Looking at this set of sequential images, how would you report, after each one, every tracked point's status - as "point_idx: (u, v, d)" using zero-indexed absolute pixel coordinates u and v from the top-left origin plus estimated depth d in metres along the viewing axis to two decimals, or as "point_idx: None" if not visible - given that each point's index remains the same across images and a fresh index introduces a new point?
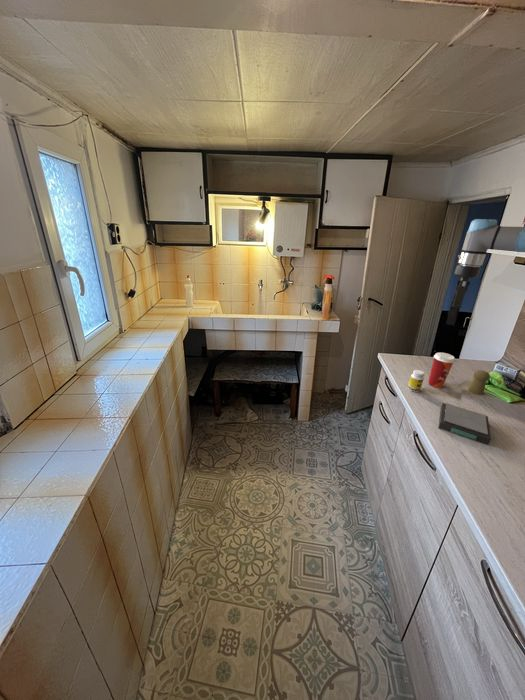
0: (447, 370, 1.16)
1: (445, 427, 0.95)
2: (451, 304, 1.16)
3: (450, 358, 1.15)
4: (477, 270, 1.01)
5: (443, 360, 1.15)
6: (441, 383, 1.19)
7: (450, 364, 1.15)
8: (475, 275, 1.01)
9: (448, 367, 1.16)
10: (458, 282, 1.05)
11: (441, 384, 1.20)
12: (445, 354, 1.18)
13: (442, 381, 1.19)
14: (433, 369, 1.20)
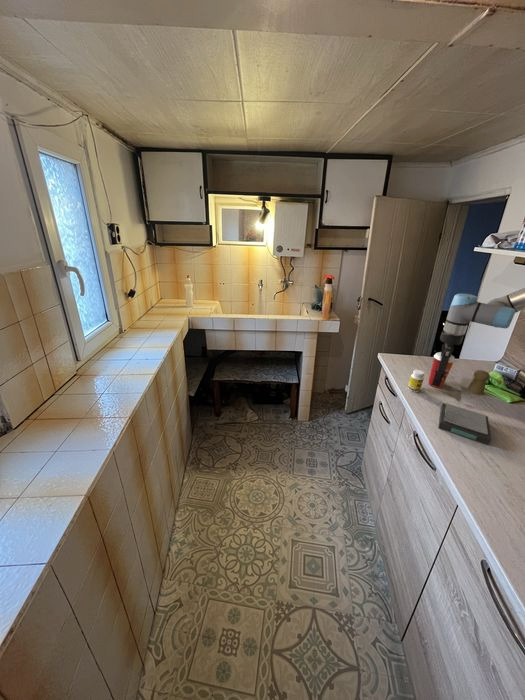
0: (447, 370, 1.16)
1: (445, 427, 0.95)
2: None
3: (450, 358, 1.15)
4: (460, 339, 1.10)
5: None
6: (441, 383, 1.19)
7: (450, 364, 1.15)
8: (458, 343, 1.11)
9: (448, 367, 1.16)
10: (443, 347, 1.15)
11: (441, 384, 1.20)
12: None
13: (442, 381, 1.19)
14: (433, 368, 1.20)
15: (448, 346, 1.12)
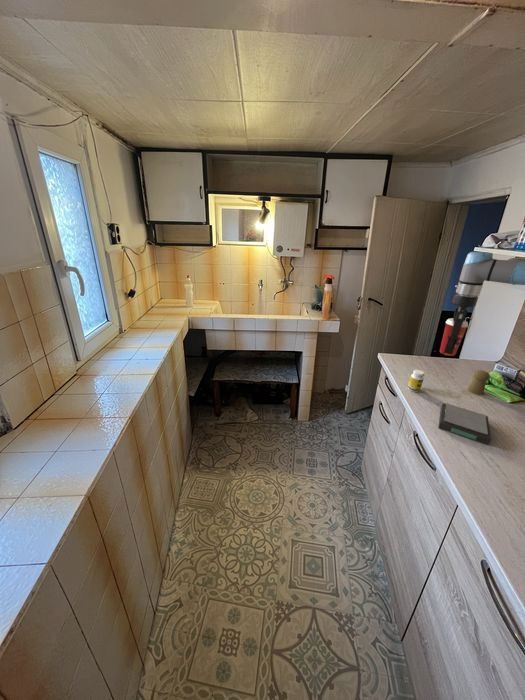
0: (460, 336, 1.10)
1: (445, 427, 0.95)
2: None
3: (463, 322, 1.08)
4: (474, 300, 1.04)
5: None
6: (454, 350, 1.13)
7: (463, 329, 1.09)
8: (472, 305, 1.04)
9: (461, 332, 1.09)
10: (456, 311, 1.08)
11: (454, 352, 1.13)
12: None
13: (455, 348, 1.12)
14: (445, 335, 1.13)
15: (461, 309, 1.06)
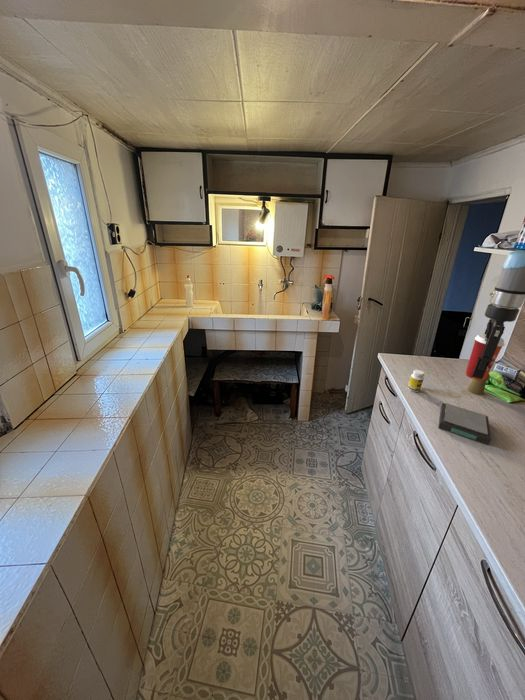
0: (494, 356, 0.88)
1: (445, 427, 0.95)
2: None
3: None
4: (515, 313, 0.81)
5: None
6: (484, 374, 0.91)
7: (498, 348, 0.86)
8: (512, 319, 0.82)
9: (495, 352, 0.87)
10: (490, 326, 0.86)
11: (484, 375, 0.91)
12: None
13: (486, 371, 0.90)
14: (474, 355, 0.91)
15: (498, 324, 0.83)
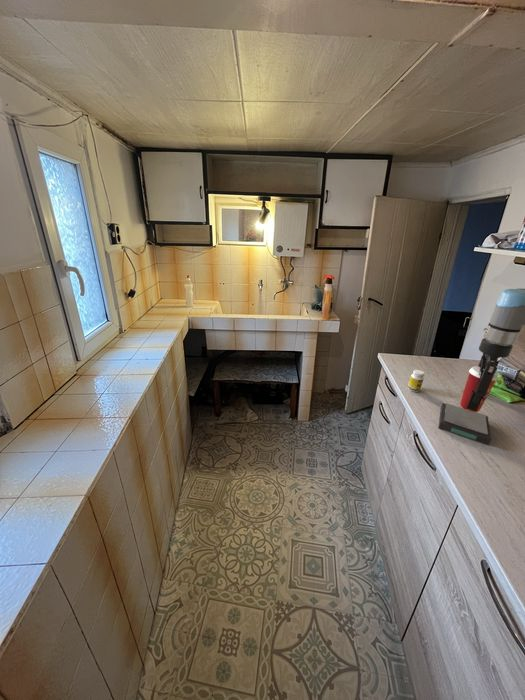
0: (488, 390, 0.89)
1: (445, 427, 0.95)
2: None
3: None
4: (509, 350, 0.82)
5: None
6: None
7: (492, 382, 0.87)
8: (506, 355, 0.83)
9: (489, 386, 0.88)
10: (484, 360, 0.87)
11: (478, 407, 0.92)
12: None
13: (480, 404, 0.91)
14: (468, 387, 0.92)
15: (491, 359, 0.84)
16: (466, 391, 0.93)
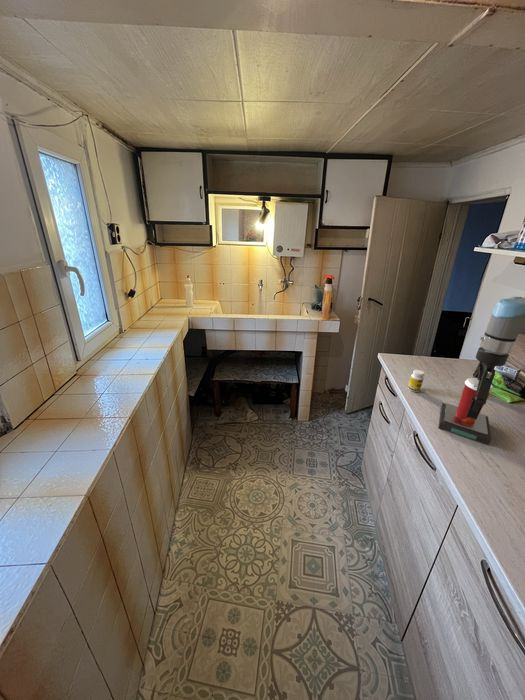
0: None
1: (445, 427, 0.95)
2: None
3: None
4: (505, 358, 0.83)
5: None
6: None
7: None
8: (502, 364, 0.84)
9: None
10: (481, 368, 0.88)
11: None
12: None
13: None
14: (463, 398, 0.93)
15: (488, 368, 0.85)
16: (462, 402, 0.94)
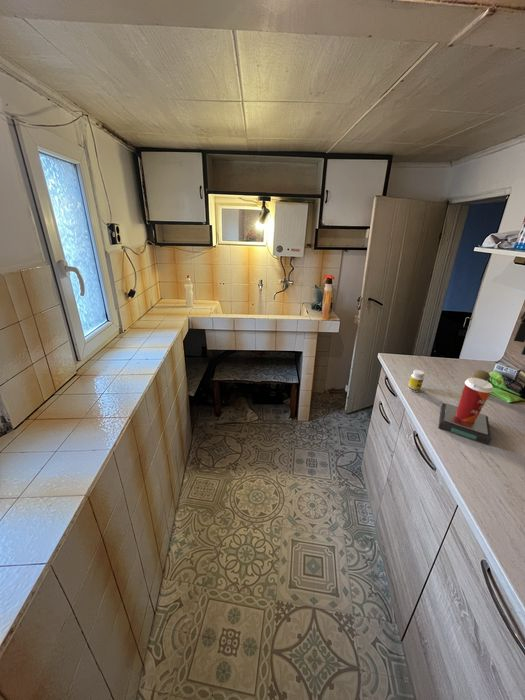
0: (483, 401, 0.90)
1: (445, 427, 0.95)
2: (520, 328, 0.97)
3: (487, 386, 0.89)
4: None
5: (478, 389, 0.89)
6: (474, 417, 0.93)
7: (487, 394, 0.89)
8: None
9: (484, 398, 0.90)
10: None
11: (474, 418, 0.94)
12: (479, 381, 0.92)
13: (475, 415, 0.93)
14: (463, 398, 0.93)
15: None
16: (462, 402, 0.94)
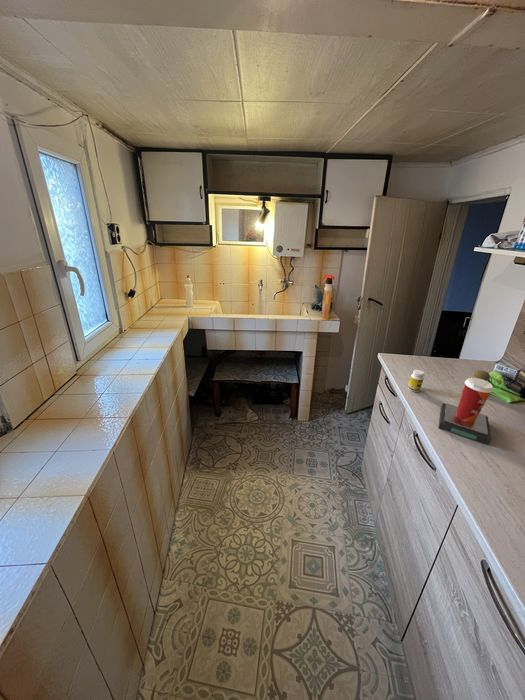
0: (483, 401, 0.90)
1: (445, 427, 0.95)
2: None
3: (487, 386, 0.89)
4: None
5: (478, 389, 0.89)
6: (474, 417, 0.93)
7: (487, 394, 0.89)
8: None
9: (484, 398, 0.90)
10: None
11: (474, 418, 0.94)
12: (479, 381, 0.92)
13: (475, 415, 0.93)
14: (464, 398, 0.93)
15: None
16: (462, 402, 0.94)
